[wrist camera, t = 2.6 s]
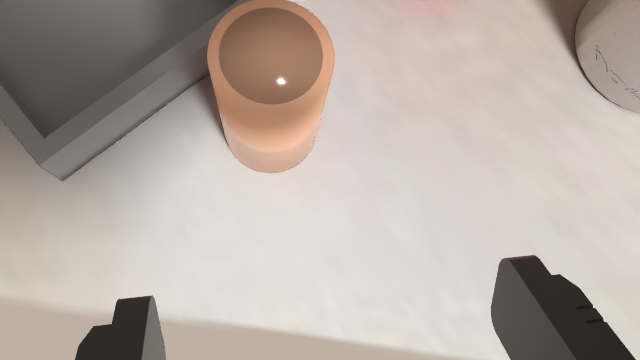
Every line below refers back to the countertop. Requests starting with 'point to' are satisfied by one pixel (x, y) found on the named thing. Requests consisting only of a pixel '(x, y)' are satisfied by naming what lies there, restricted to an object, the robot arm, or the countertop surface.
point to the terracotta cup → (270, 81)
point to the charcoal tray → (96, 69)
